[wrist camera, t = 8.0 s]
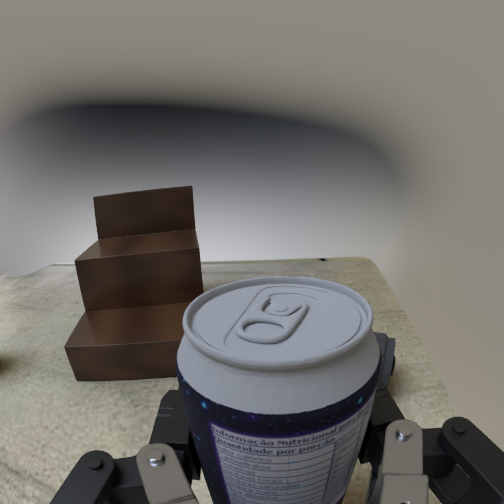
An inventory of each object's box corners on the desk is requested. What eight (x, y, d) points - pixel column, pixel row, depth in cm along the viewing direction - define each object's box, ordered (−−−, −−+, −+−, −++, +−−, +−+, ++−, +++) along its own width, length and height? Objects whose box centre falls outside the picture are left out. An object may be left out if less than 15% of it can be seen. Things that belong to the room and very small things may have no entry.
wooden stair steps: (201, 295, 45) (192, 185, 41) (215, 372, 27) (198, 195, 23) (110, 304, 42) (93, 196, 38) (76, 380, 24) (33, 215, 20)
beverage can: (347, 486, 12) (393, 280, 9) (310, 571, 7) (376, 399, 4) (251, 462, 15) (235, 265, 12) (199, 532, 10) (119, 333, 7)
